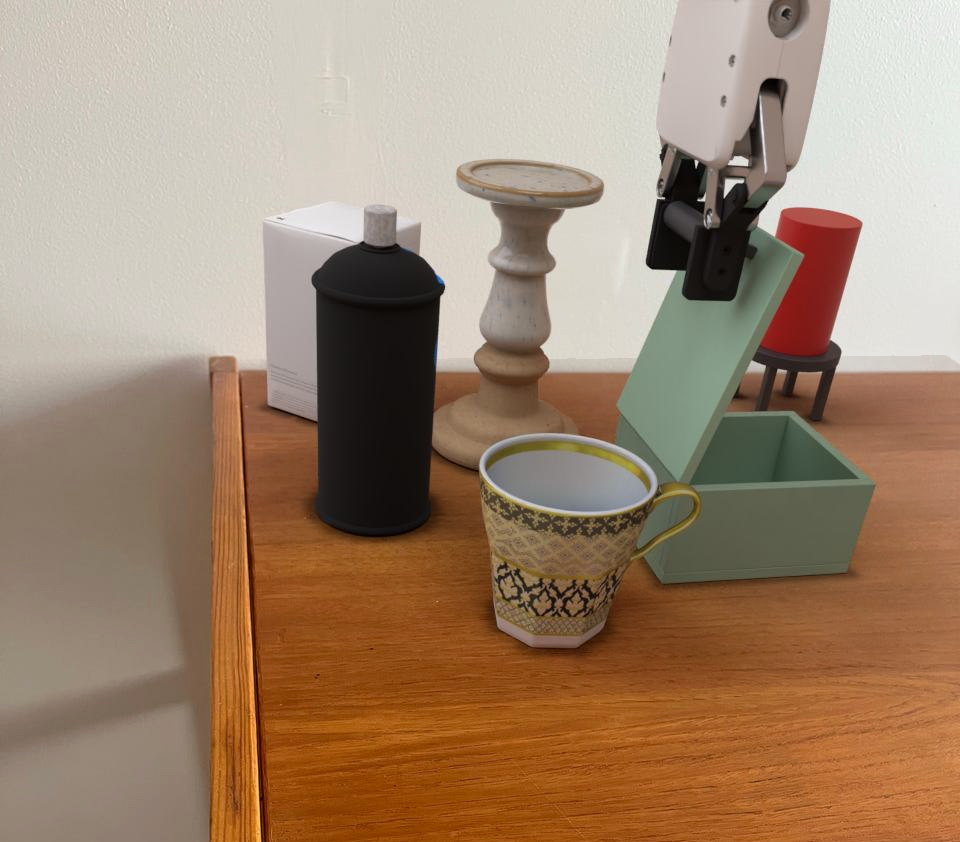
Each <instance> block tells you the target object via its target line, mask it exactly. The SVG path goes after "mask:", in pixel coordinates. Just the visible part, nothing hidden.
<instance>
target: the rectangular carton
mask: <svg viewBox="0 0 960 842" xmlns="http://www.w3.org/2000/svg"><path fill="white" fill-rule="evenodd" d="M364 208H365V207H362V206H358V205H355V204H349V203H345V202H341V201H336V200H331V201H326V202H323V203H319V204H316V205H312V206H307V207H301V208H297V209H293V210H291V211H287V212H284V213H281V214H276V215H272V216H268V217H265V218H263V219H262V243H263V245H262V247H263V278H264V283H263V284H264V312H265V313H264V316H265V348H266V349H265V350H266V353H265V354H266V382H267V384H266V386H267V388H266V389H267V406H270V407H273V408H276V409H278V410H282V411H285V412H287V413H291V414H293V415H297V416H299V417H303V418H306V419H309V420H311V421H314V422H317V339H316V289H315V288H314V286H313V285H312V282H311V278H312V275H313V274H314V272H315V271H316V270H318V269H319V268H321V267H322V265H323V264H324V262H326V261H327V260H328V259H329V258H330V257H331V256H332V255H333V254H334V253H335V252H337V251H339V250H342V249H344V248H346V247H349V246H352V245H357V244H359V243H360V242H362V241H364ZM421 235H422V221H420V220H415V219H414V218H413V219H412V218H409V217H406V216H401V215H397V226H396V243H397V244H399V245H400V246H401V247H403V248H406V249H408V250H411V251H412V252H414V253H416V254H417V255H419V256H420V255H421V254H420V253H421V252H420V251H421Z"/></svg>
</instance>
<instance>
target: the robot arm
mask: <svg viewBox="0 0 960 842" xmlns="http://www.w3.org/2000/svg"><path fill="white" fill-rule="evenodd" d="M831 2H832V0H678V1H677V6H676V10H675V13H674V18H673V23H672V28H671V32H670V36H669V41H668V46H667V51H666V55H665V61H664V67H663V72H662V77H661V82H660V88H659V94H658V95H659V96H658V102H657V111H656V124H655V125H656V130H657V132H658V136H659V140H660V147H661V148H660V153H659V160H660V165H661V169H660V171H659V174H658V177H657V181H656V189H655V190H656V191H655V192H656V196H657V198H656V203H655V208H654V213H653V217H652V224H651V229H650V234H649V240H648V246H647V251H646V256H645V262H644V263H645V265H646V267H648V268H649V269H650V270H652V271H675V272H676V271H686V273H685V277H684V282H683V287H682V295H683V296H684V297H685V298H686V299H688V300H696V301H732V300H733V299H734V298H735V297H736V294H737V290H738V285H739V281H740V277H741V273H742V269H743V264H744V260H745V256H746V252H747V248H748V243H749V239H750V235H751V232H752V231H754V230H755V229H756V227H757V226H759V220H760V214H761V213H762V212H763V210H764V209H765V208H766V207H767V205H768V203H769V201H770V200H771V199H772V198H773V197H774V196H775V195H776V194H778V192H779V191H780V190H781V189H782V188H783V187H784V186H785V185H786V183H787V178H788V173H789V172H791V171H793V169H795V168H796V167H797V165H798V163H799V161H800V158H801V155H802V151H803V148H804V144H805V141H806V135H807V130H808V126H809V122H810V118H811V114H812V108H813V103H814V99H815V94H816V90H817V85H818V79H819V76H820V75H819V73H820V70H821V65H822V60H823V54H824V49H825V48H824V47H825V42H826V37H827V30H828V24H829V17H830V9H831ZM735 157H742V158H743V159H745V160H747V161H748V163H747V165H735V164H730V162H731V161H734V159H735ZM696 161H697V165H696ZM726 180H728V181H729V180H731V181H743V182H737V183H736V182H735V184H734V185H733V186H732V187H731V188H730V190H729V191H728V192H727V194H726V195H725V188H726ZM703 199H704V200H703ZM674 201H682V202H684V203H686V204H687V205H689V206H690V207H692V208H693V209H695V210H696V211H698V212H700V213H701V214H703V215H704V221H703V222H704V225H695V229H694V234H693V239H692V244H691V243H690V242H688V241H687V240H685V239H684V238H683V237H681V236H680V235H678V234H677V233H676V232H674V231H673V230H672V229H670V228H669V227H667V226H666V224H665V222H664V212H665V209H666V208H667V206H668V205H669V204H670V203H672V202H674Z"/></svg>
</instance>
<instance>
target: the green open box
mask: <svg viewBox="0 0 960 842" xmlns="http://www.w3.org/2000/svg"><path fill="white" fill-rule="evenodd" d="M616 426H617V427H616V433H615V438H614V443H613V444H614V445H617V446H619V447H621V448H624V449H626V450H628V451H630V452H632V453H633V454H635V455H637V456H638V457H640V458H641V459H642V460H644V461H645V462H646V463H647V464H648V465H649V466H650V467H651V468H652V470H653V471H654V472H655V474H656V477H657V480H658V486H659V485H661V484H664V483H668V482H677V481H676V480H675V478H674V477H673V476H672V475H671V473H670V472H669V471H668V470H667V468H666V467H665V466H664V465H663V464H662V462H661V461H660V460H659V459H658V457H657V456H656V455H655V454H654V453H653V451H652V450H651V449H650V448H649V446H648V445H647V444H646V443H645V442H644V440H643V439H642V438H641V437H640V435H639V434H638V433H637V432H636V431H635V429H634V428H633V427H632V426H631V424H630V423H629V422H628V421H627V419H626V418H625V417H624V416H623V415H622V413H619V415H618V420H617V425H616ZM689 485H690V486H691V487H693V488H694V489H695V490H696V491H697V493H698V494H699V497H700V500H701V511H700V514H699V516H698V517H697V519H696V520H695V522H693V523H692V524H691V525H690V526H689V527H688V528H686V529H685V530H683V531H682V532H680V533H678V534H676V535H674V536H673V537H671V538H669V539H667V540H665V541H663V542H662V543H660V544H659V545H657V546H656V547H655V548H654V549H653V550H651V551H650V552H649V553H648V554H646V555H644V556H643V558H644V560H645V561H646V563H647V564H648V566H649V567H650V569H651V570H652V572H653V573H654V575H655V576H656V577H657V579H658V580H659V582H660V584H662V585H666V584H683V583H701V582H703V583H704V582H719V581H736V580H749V579H767V578H783V577H800V576H801V577H802V576H817V575H833V574H846V573H848V569H849V567H850V563H851V560H852V558H853V554H854V552H855V549H856V545H857V543H858V541H859V540H858V539H859V538H860V537H859V536H860V534H861V531H862V528H863V525H864V522H865V520H866V517H867V513H868V510H869V508H870V504H871V501H872V498H873V495H874V492H875V489H876V487H877V483H876V482H875V481H874V480H873V479H871V478H870V477H869V476H868V474H866V473H865V472H863V470H861V469H860V468H859V467H858V466H857V465H856V464H855V463H854V462H852V460H850V459H849V458H848V457H846V456H845V455H844V453H842V452H841V451H840V450H838V448H836V447H835V446H834V445H833V444H832V443H831V442H830V441H828V440H827V439H826V437H824V436H823V435H822V434H820V433H819V432H818V431H817V430H816V429H815V428H814V427H812V426H811V425H810V424H809V423H808V422H807V421H806V420H804V419H803V417H801V416H800V415H799V414H797V413H796V412H795V411H794V410H774V411H773V410H772V411H771V410H770V411H769V410H767V411H763V412H755V411H726V412H725V414H724V416H723V418H722V420H721V422H720V424H719V426H718V428H717V430H716V432H715V434H714V436H713V438H712V440H711V442H710V444H709V445H708V447H707V449H706V451H705V453H704V455H703V457H702V459H701V461H700V463H699V465H698V467H697V469H696V471H695V473H694V475H693V477H692V479H691V481H690V483H689ZM693 508H694V501H693V498H691V497H689V496H677V497H674V498H671V499H668V500H666V501H663V502H662V503H660V504H658V505H657V506H656V507H655V509H654V510H653V512H652V513H651V514H650V515H649V516H648V518H647V521H646V523H645V525H644V527H643V530H642V532H641V534H640V536H639V539H638V542H637V544H636V547H635V548H637V549H640V548H641V547H643V546H644V545H646V544H647V543H648V542H649V541H650V540H652V539H653V538H654V537H655V536H657V535H659V534H660V533H662V532H664V531H666V530H667V529H669V528H671V527H673V526H675V525H677V524H679V523H680V522H682V521H683V520H685V519H686V518H687V517H688V516H689V515H690V514H691V512H692V511H693Z"/></svg>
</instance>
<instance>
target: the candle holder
mask: <svg viewBox="0 0 960 842" xmlns="http://www.w3.org/2000/svg"><path fill="white" fill-rule="evenodd" d="M454 178H455V183H456V186H457V187H458V189H460V190H461V191H463V192H465V193H466V194H468V195H470V196H472V197H474V198H477V199H480V200H482V201H487V202H489V206H490V210H491V212H492V214H493V216H495V218H497V219H498V222H499V227H500V238H499V241H498V243H497V245H496V246H495V247H493V248H492V249H491V250H490V251H489V252H488V254H487V262H488V264H489V265H490V266H491V267H492V268H493V269H494V274H493V279H492V282H491V286H490V291H489V292H488V297H487V299H486V302H485V304H484V306H483V309H482V311H481V314H480V317H479V321H478V328H479V332H480V334H481V337H482V338H483V339H484V340H485V341H486V342H484V343H483V344H482V345H481V347H479V348H478V349H477V350H476V351H475V352H474V354H473V363H474V365H475V366H476V367H477V369H478V371H479V373H480V374H481V377H480V382H479V387H478V390H477V392H472V393H469V394H466V395H463V396H460V397H459V398H458V399H456V400H454V401H451V402H448V403H446V404H445V405H443V406H440V408H438V409H437V410H436V411H434V418H433V435H432V448H433V449H434V451H436V452H437V453H438V454H439V455H441V456H442V457H444V459H447V460H448V461H451V462H452V463H455V464H457V465H460V466H462V467H465V468H468V469H471V470H475V471H479V461H480V458H481V456H482V455H483V453H484V452H485V451H486V450H487V449H488V448H489V447H491V446H493V445H494V444H496V443H498V442H500V441H503V440H505V439H508V438H512V437H516V436H521V435H526V434H536V433H561V434H572V435H578V436H581V434H580V431H579V427H578V426H577V425H576V423H574V421H573V420H572V419H570V417H568V416H567V415H565V414H564V413H562V412H560V411H559V410H558V409H557V408H555V406H554V405H552V404H550V402H547V401H545V400H544V399H541V398H539V380H540V379H541V378H542V377H543V376H544V375H545V374H546V373H547V372H548V371H549V369H550V365H551V364H550V363H551V362H550V359H549V357H548V356H547V354H545V351H544V350H543V348H542V346H543V345H544V344H545V343H546V342H547V341H548V340H549V338H550V336H551V334H552V319H551V315H550V309H549V304H548V303H549V302H548V295H547V275H548V274H550V273H551V272H553V271H554V270H555V269H556V267H557V260H556V258H555V256H554V255H553V254H552V253H551V252H550V250H549V243H548V241H549V235H550V232H551V230H552V228H553V226H554V225H555V224H557V223H559V221H561V219H562V218H563V216H564V214H565V211H566V210H571V209H572V210H573V209H579V208H584V207H588V206H591V205H595V204H597V203H598V202H600V201H601V200H602V198H603V196H604V193H605V182H604V180H602V178H600V177H599V176H597V175H595V174H593V173H592V172H589V171H586V170H583V169H580V168H577V167H572V166H569V165H566V164H565V165H564V164H559V163H553V162H547V161H541V160H531V159H519V158H517V159H516V158H487V159H486V158H485V159H478V160H471V161H468V162H465V163H462V164H460V165H459V166H458V167H457V168H456V170H455V175H454Z"/></svg>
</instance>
